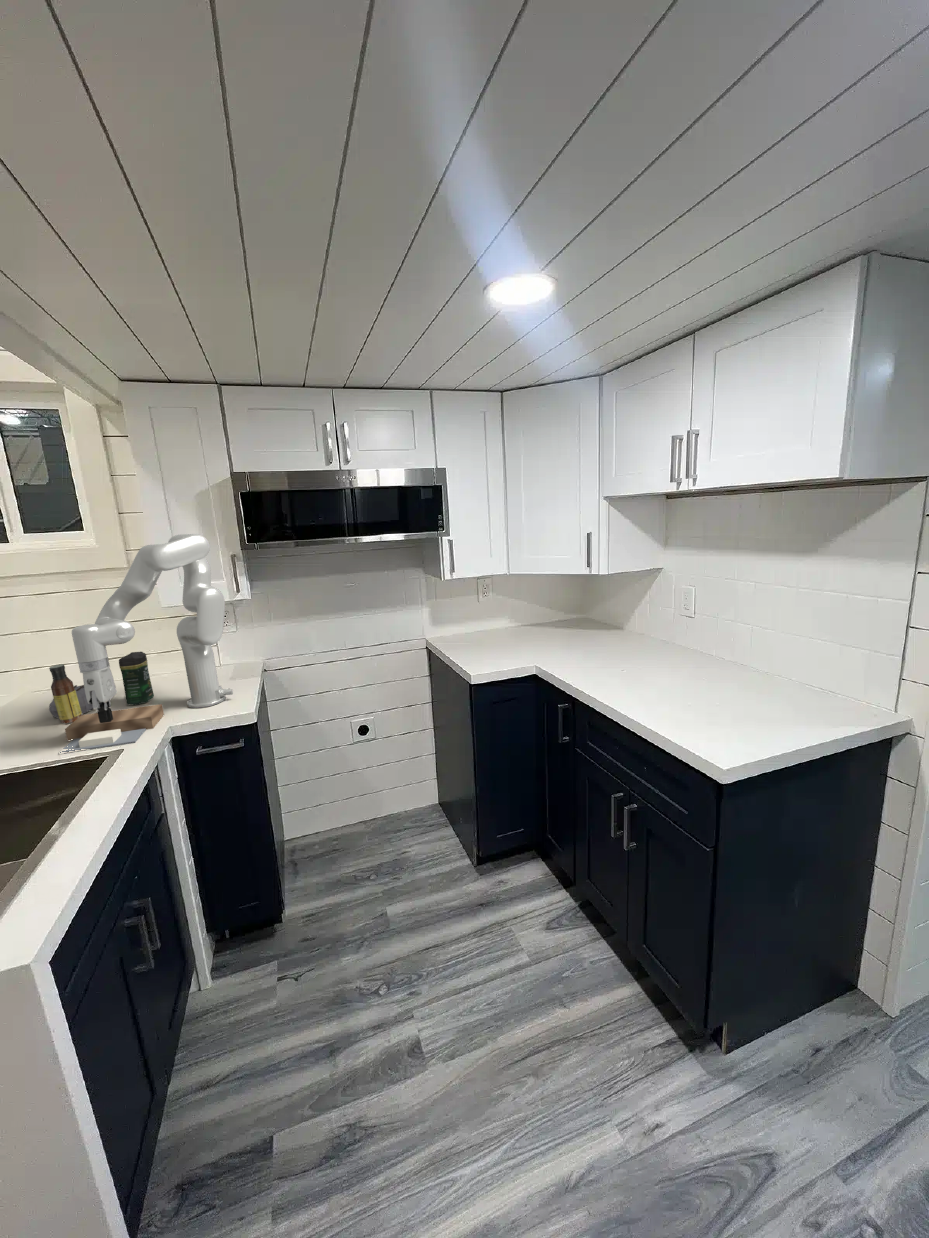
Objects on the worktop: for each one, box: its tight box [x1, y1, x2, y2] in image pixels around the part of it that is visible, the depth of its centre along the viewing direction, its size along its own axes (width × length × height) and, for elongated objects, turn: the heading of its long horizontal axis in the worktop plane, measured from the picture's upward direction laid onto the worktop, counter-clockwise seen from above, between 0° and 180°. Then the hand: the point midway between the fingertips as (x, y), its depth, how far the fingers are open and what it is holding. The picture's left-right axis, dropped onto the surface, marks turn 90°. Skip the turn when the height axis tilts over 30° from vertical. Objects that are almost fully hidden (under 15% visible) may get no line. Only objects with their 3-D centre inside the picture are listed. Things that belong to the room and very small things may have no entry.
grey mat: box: [59, 728, 147, 753], centre depth 159 cm, size 20×10×1 cm, turn 105°
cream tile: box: [78, 729, 122, 748], centre depth 158 cm, size 9×6×2 cm, turn 103°
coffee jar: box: [118, 651, 155, 706], centre depth 193 cm, size 10×8×19 cm
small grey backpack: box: [48, 684, 94, 719], centre depth 190 cm, size 15×8×20 cm
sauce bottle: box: [48, 663, 83, 725], centre depth 177 cm, size 6×6×20 cm
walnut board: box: [64, 703, 165, 740], centre depth 170 cm, size 24×12×4 cm, turn 105°
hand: (106, 721), depth 162 cm, fingers closed
